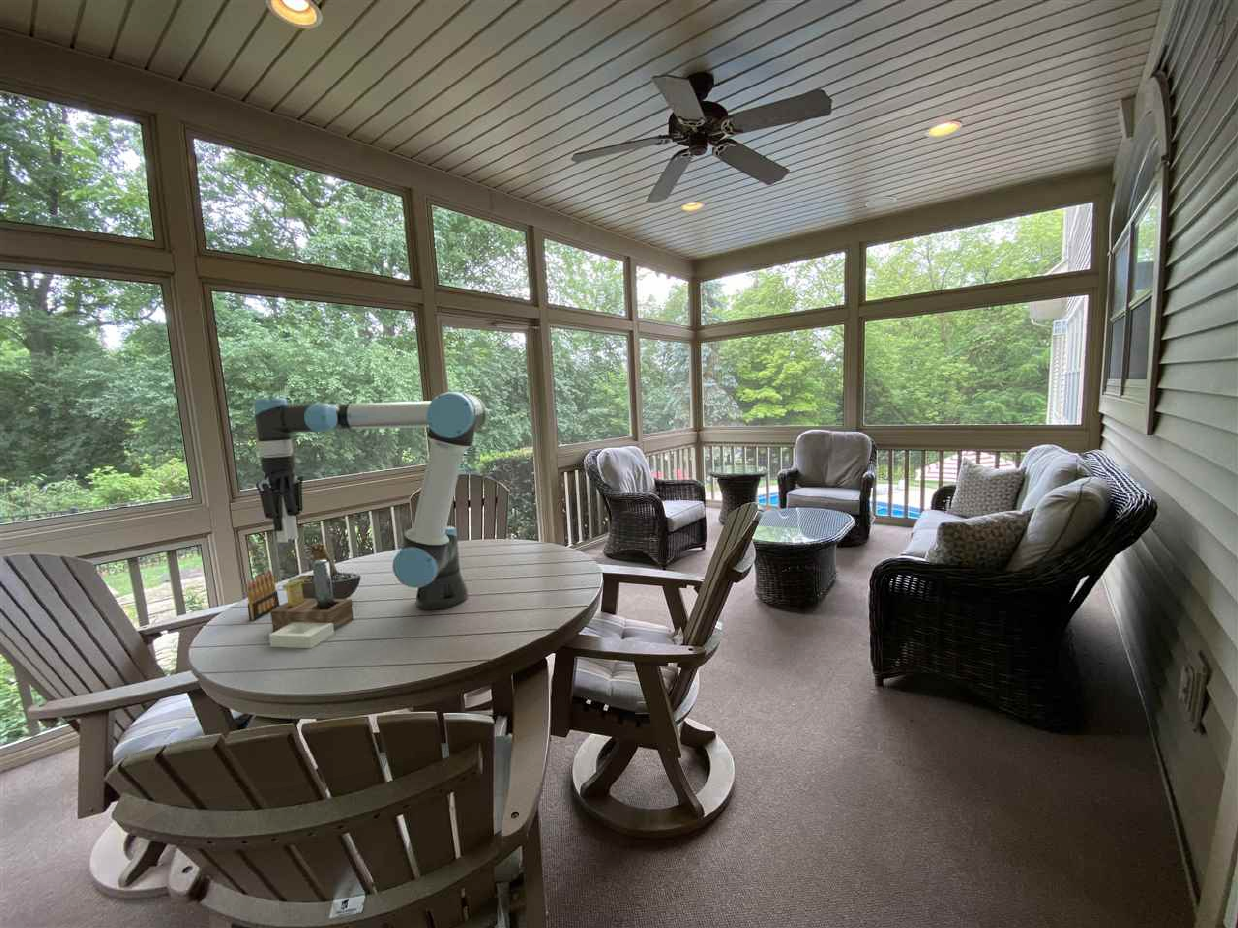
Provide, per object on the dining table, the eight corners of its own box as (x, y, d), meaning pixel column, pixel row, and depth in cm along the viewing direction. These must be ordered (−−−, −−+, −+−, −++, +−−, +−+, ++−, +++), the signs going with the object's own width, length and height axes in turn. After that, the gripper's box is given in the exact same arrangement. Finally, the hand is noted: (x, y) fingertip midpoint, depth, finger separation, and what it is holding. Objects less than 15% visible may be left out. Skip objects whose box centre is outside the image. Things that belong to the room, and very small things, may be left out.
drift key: (308, 612, 145) (304, 579, 144) (294, 620, 140) (289, 585, 139) (301, 612, 146) (296, 578, 144) (286, 620, 141) (282, 585, 140)
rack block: (334, 633, 136) (332, 623, 136) (311, 647, 128) (309, 636, 128) (295, 632, 138) (293, 621, 138) (270, 646, 131) (268, 635, 130)
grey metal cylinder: (338, 616, 143) (332, 558, 141) (328, 622, 139) (321, 562, 137) (326, 615, 144) (319, 558, 142) (315, 621, 140) (308, 562, 138)
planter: (290, 606, 157) (282, 544, 155) (348, 590, 170) (341, 532, 167) (305, 619, 147) (296, 552, 145) (365, 600, 159) (358, 538, 157)
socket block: (353, 619, 145) (351, 599, 144) (330, 633, 136) (328, 612, 136) (298, 617, 148) (296, 598, 148) (273, 631, 140) (270, 610, 139)
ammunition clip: (255, 620, 148) (249, 581, 147) (249, 621, 148) (243, 581, 147) (279, 606, 159) (274, 569, 157) (273, 606, 159) (268, 569, 157)
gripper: (288, 453, 146) (298, 533, 149) (239, 459, 131) (251, 548, 133) (311, 452, 145) (321, 533, 147) (264, 458, 129) (276, 548, 132)
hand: (288, 540), depth 140 cm, fingers open, 3 cm apart
